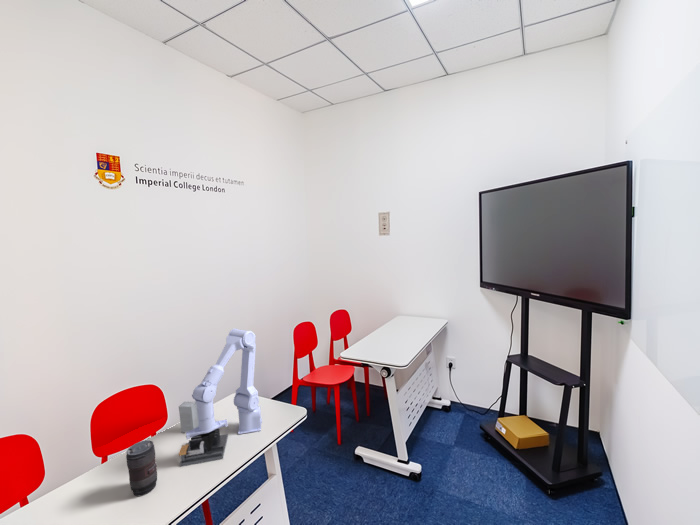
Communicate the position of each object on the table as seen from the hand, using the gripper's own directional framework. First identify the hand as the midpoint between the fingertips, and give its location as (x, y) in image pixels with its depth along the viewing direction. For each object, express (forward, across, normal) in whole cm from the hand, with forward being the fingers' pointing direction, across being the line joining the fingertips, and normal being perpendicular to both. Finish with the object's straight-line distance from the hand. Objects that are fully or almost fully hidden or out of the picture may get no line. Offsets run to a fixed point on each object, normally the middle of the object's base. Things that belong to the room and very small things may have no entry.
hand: (209, 449), depth 127 cm
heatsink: (+3, +1, -5) cm, 6 cm away
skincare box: (+3, +4, -24) cm, 24 cm away
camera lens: (+3, +21, +4) cm, 22 cm away
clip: (+1, +5, -2) cm, 6 cm away
